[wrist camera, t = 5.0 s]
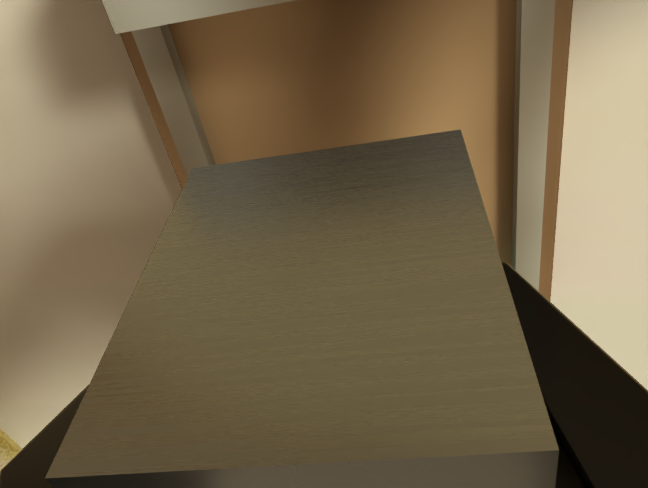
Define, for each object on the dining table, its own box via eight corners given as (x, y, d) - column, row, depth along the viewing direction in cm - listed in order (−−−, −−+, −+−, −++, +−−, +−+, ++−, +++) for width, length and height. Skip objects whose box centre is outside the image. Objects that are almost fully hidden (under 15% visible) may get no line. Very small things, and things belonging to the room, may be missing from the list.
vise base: (580, -316, 12) (714, -394, 7) (542, 289, 22) (588, 409, 17) (54, -182, 13) (-93, -178, 9) (244, 319, 23) (218, 434, 19)
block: (469, 326, 10) (537, 650, 6) (259, 345, 11) (201, 650, 7) (461, 129, 8) (558, 450, 4) (192, 168, 8) (45, 478, 5)
